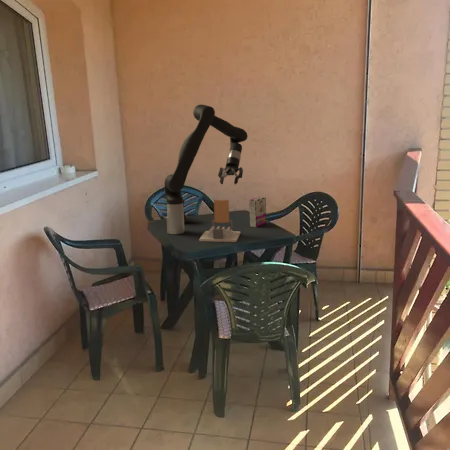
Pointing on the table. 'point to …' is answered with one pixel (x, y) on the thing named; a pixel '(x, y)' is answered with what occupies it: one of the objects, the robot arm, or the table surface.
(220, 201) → the brown flat panel
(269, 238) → the table surface
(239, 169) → the robot arm
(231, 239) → the heatsink board
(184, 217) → the mug
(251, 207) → the candy bar box
